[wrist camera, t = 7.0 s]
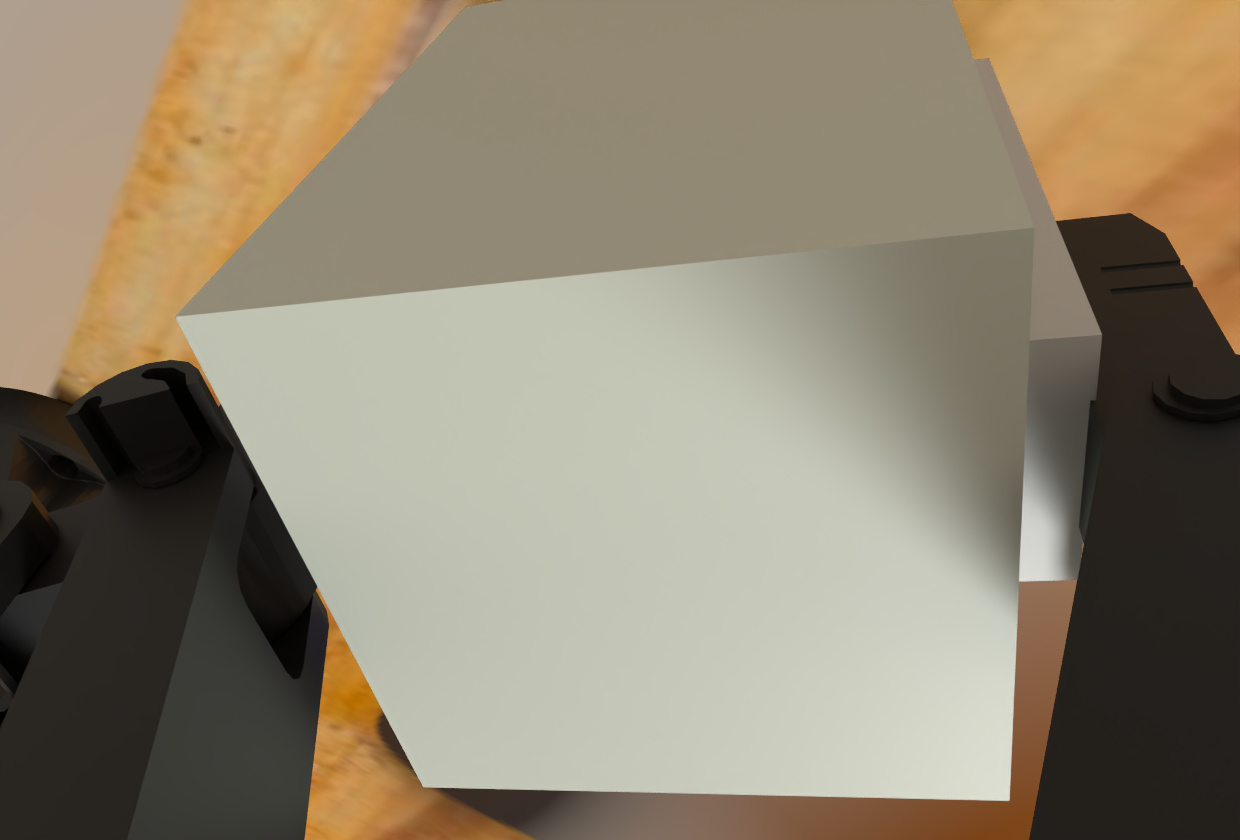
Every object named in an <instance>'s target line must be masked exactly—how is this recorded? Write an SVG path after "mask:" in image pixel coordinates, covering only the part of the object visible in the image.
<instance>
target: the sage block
mask: <svg viewBox="0 0 1240 840" xmlns="http://www.w3.org/2000/svg"><path fill="white" fill-rule="evenodd" d="M1033 250H1034V225H1033V222H1032V219H1031V217H1030V214H1029V211H1028V208H1027V206H1026V203H1025V200H1024V197H1023V195H1022V192H1021V189H1020V186H1019V184H1018V181H1017V178H1016V175H1015V173H1014V170H1013V167H1012V164H1011V162H1010V159H1009V156H1008V153H1007V151H1006V148H1005V145H1004V142H1003V140H1002V137H1001V134H1000V131H999V129H998V126H997V123H996V120H995V118H994V115H993V112H992V109H991V107H990V104H989V101H988V98H987V96H986V93H985V90H984V87H983V84H982V82H981V79H980V76H979V73H978V71H977V68H976V65H975V62H974V60H973V57H972V54H971V51H970V49H969V46H968V43H967V40H966V38H965V35H964V32H963V29H962V27H961V24H960V21H959V18H958V16H957V13H956V10H955V7H954V5H953V2H952V0H502V1H496V2H490V3H484V4H479V5H473V6H467V7H465V8H464V9H463V10H462V11H461V12H460V14H459V15H458V16H457V17H456V18H455V19H454V20H453V21H452V22H451V23H450V24H449V25H448V26H447V27H446V28H445V30H444V31H443V32H442V33H441V34H440V35H439V36H438V37H437V38H436V39H435V40H434V41H433V42H432V43H431V44H430V46H429V47H428V48H427V49H426V50H425V51H424V52H423V53H422V54H421V55H420V56H419V57H418V58H417V59H416V60H415V62H414V63H413V64H412V65H411V66H410V67H409V68H408V69H407V70H406V71H405V72H404V73H403V74H402V75H401V76H400V78H399V79H398V80H397V81H396V82H395V83H394V84H393V85H392V86H391V87H390V88H389V89H388V90H387V91H386V92H385V94H384V95H383V96H382V97H381V98H380V99H379V100H378V101H377V102H376V103H375V104H374V105H373V106H372V107H371V108H370V109H369V111H368V112H367V113H366V114H365V115H364V116H363V117H362V118H361V119H360V120H359V121H358V122H357V123H356V124H355V125H354V127H353V128H352V129H351V130H350V131H349V132H348V133H347V134H346V135H345V136H344V137H343V138H342V139H341V140H340V141H339V143H338V144H337V145H336V146H335V147H334V148H333V149H332V150H331V151H330V152H329V153H328V154H327V155H326V156H325V157H324V159H323V160H322V161H321V162H320V163H319V164H318V165H317V166H316V167H315V168H314V169H313V170H312V171H311V172H310V173H309V175H308V176H307V177H306V178H305V179H304V180H303V181H302V182H301V183H300V184H299V185H298V186H297V187H296V188H295V189H294V191H293V192H292V193H291V194H290V195H289V196H288V197H287V198H286V199H285V200H284V201H283V202H282V203H281V204H280V205H279V207H278V208H277V209H276V210H275V211H274V212H273V213H272V214H271V215H270V216H269V217H268V218H267V219H266V220H265V221H264V222H263V224H262V225H261V226H260V227H259V228H258V229H257V230H256V231H255V232H254V233H253V234H252V235H251V236H250V237H249V238H248V240H247V241H246V242H245V243H244V244H243V245H242V246H241V247H240V248H239V249H238V250H237V251H236V252H235V253H234V254H233V256H232V257H231V258H230V259H229V260H228V261H227V262H226V263H225V264H224V265H223V266H222V267H221V268H220V269H219V270H218V272H217V273H216V274H215V275H214V276H213V277H212V278H211V279H210V280H209V281H208V282H207V283H206V284H205V285H204V286H203V288H202V289H201V290H200V291H199V292H198V293H197V294H196V295H195V296H194V297H193V298H192V299H191V300H190V301H189V302H188V304H187V305H186V306H185V307H184V308H183V309H182V310H181V311H180V312H179V313H178V314H177V315H176V316H175V318H176V320H177V322H178V324H179V325H180V327H181V329H182V331H183V333H184V335H185V337H186V339H187V341H188V342H189V344H190V346H191V348H192V350H193V352H194V354H195V356H196V358H197V360H198V361H199V363H200V365H201V367H202V369H203V371H204V373H205V375H206V377H207V378H208V380H209V382H210V384H211V386H212V388H213V390H214V392H215V394H216V395H217V397H218V399H219V401H220V403H221V405H222V407H223V409H224V411H225V413H226V414H227V416H228V418H229V420H230V422H231V424H232V426H233V428H234V430H235V431H236V433H237V435H238V437H239V439H240V441H241V443H242V445H243V447H244V448H245V450H246V452H247V454H248V456H249V458H250V460H251V462H252V464H253V466H254V467H255V469H256V471H257V473H258V475H259V477H260V479H261V481H262V483H263V484H264V486H265V488H266V490H267V492H268V494H269V496H270V498H271V500H272V502H273V503H274V505H275V507H276V509H277V511H278V513H279V515H280V517H281V519H282V520H283V522H284V524H285V526H286V528H287V530H288V532H289V534H290V536H291V537H292V539H293V541H294V543H295V545H296V547H297V549H298V551H299V553H300V555H301V556H302V558H303V560H304V562H305V564H306V566H307V568H308V570H309V572H310V573H311V575H312V577H313V579H314V581H315V583H316V585H317V587H318V589H319V590H320V592H321V594H322V596H323V598H324V600H325V602H326V604H327V606H328V608H329V609H330V611H331V613H332V615H333V617H334V619H335V621H336V623H337V625H338V626H339V628H340V630H341V632H342V634H343V636H344V638H345V640H346V642H347V644H348V645H349V647H350V649H351V651H352V653H353V655H354V657H355V659H356V661H357V662H358V664H359V666H360V668H361V670H362V672H363V674H364V676H365V678H366V679H367V681H368V683H369V685H370V687H371V689H372V691H373V693H374V695H375V697H376V698H377V700H378V702H379V704H380V706H381V708H382V710H383V712H384V714H385V715H386V717H387V719H388V721H389V723H390V725H391V727H392V728H393V731H394V732H395V734H396V736H397V738H398V740H399V742H400V744H401V746H402V748H403V750H404V751H405V753H406V755H407V757H408V759H409V761H410V763H411V765H412V767H413V768H414V770H415V772H416V774H417V776H418V778H419V780H420V782H421V784H422V786H423V787H438V788H440V787H442V788H481V789H482V788H483V789H484V788H485V789H525V790H568V791H611V792H614V791H615V792H655V793H656V792H657V793H698V794H742V795H783V796H786V795H787V796H826V797H829V796H831V797H871V798H913V799H958V800H999V801H1003V800H1004V801H1009V798H1010V775H1011V774H1010V773H1011V751H1012V730H1013V727H1012V726H1013V707H1014V705H1013V704H1014V684H1015V661H1016V660H1015V659H1016V638H1017V615H1018V593H1019V570H1020V547H1021V524H1022V501H1023V478H1024V455H1025V433H1026V410H1027V387H1028V364H1029V341H1030V318H1031V295H1032V273H1033Z"/></svg>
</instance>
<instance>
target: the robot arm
mask: <svg viewBox="0 0 1240 840" xmlns="http://www.w3.org/2000/svg"><path fill="white" fill-rule="evenodd" d="M974 62H975V65H976V68H977V71H978V73H979V76H980V79H981V82H982V84H983V87H984V90H985V93H986V96H987V98H988V101H989V104H990V107H991V109H992V112H993V115H994V118H995V120H996V123H997V126H998V129H999V131H1000V134H1001V137H1002V140H1003V142H1004V145H1005V148H1006V151H1007V153H1008V156H1009V159H1010V162H1011V164H1012V167H1013V170H1014V173H1015V175H1016V178H1017V181H1018V184H1019V186H1020V189H1021V192H1022V195H1023V197H1024V200H1025V203H1026V206H1027V208H1028V211H1029V214H1030V217H1031V219H1032V222H1033V225H1034V250H1033V273H1032V295H1031V318H1030V341H1029V364H1028V387H1027V410H1026V433H1025V455H1024V478H1023V501H1022V524H1021V547H1020V570H1019V581H1048V580H1049V581H1050V580H1077V585H1076V590H1075V595H1074V602H1073V607H1072V613H1071V617H1070V623H1069V628H1068V633H1067V639H1066V644H1065V650H1064V655H1063V661H1062V666H1061V671H1060V676H1059V682H1058V688H1057V693H1056V698H1055V703H1054V709H1053V714H1052V720H1051V725H1050V730H1049V736H1048V741H1047V747H1046V752H1045V757H1044V763H1043V768H1042V774H1041V779H1040V784H1039V790H1038V795H1037V801H1036V806H1035V811H1034V817H1033V822H1032V828H1031V833H1030V838H1029V840H1240V355H1237V354H1235V353H1234V351H1233V349H1232V348H1231V346H1230V344H1229V342H1228V341H1227V339H1226V337H1225V336H1224V334H1223V332H1222V330H1221V329H1220V327H1219V325H1218V324H1217V322H1216V320H1215V318H1214V317H1213V315H1212V313H1211V312H1210V310H1209V308H1208V306H1207V305H1206V303H1205V301H1204V300H1203V298H1202V296H1201V294H1200V293H1199V291H1198V289H1197V288H1196V287H1193V281H1192V279H1191V277H1190V276H1189V274H1188V272H1187V270H1186V269H1185V267H1184V265H1180V258H1179V257H1178V255H1177V253H1176V252H1175V250H1174V248H1173V246H1172V245H1171V243H1170V241H1169V240H1168V238H1167V236H1166V234H1165V233H1163V232H1161V231H1160V230H1158V229H1156V228H1155V227H1153V226H1151V225H1150V224H1148V223H1146V222H1145V221H1143V220H1141V219H1139V218H1138V217H1136V216H1134V215H1133V214H1131V213H1128V214H1119V215H1109V216H1100V217H1090V218H1081V219H1071V220H1062V221H1055V218H1054V216H1053V214H1052V211H1051V209H1050V206H1049V204H1048V201H1047V199H1046V196H1045V194H1044V192H1043V189H1042V187H1041V184H1040V182H1039V179H1038V177H1037V175H1036V172H1035V170H1034V167H1033V165H1032V162H1031V160H1030V157H1029V155H1028V153H1027V150H1026V148H1025V145H1024V143H1023V140H1022V138H1021V135H1020V133H1019V131H1018V128H1017V126H1016V123H1015V121H1014V118H1013V116H1012V114H1011V111H1010V109H1009V106H1008V104H1007V101H1006V99H1005V96H1004V94H1003V92H1002V89H1001V87H1000V84H999V82H998V79H997V77H996V74H995V72H994V70H993V67H992V65H991V62H990V60H989V58H985V59H978V60H974ZM1083 542H1084V548H1083V552H1082V544H1083ZM1081 554H1082V558H1081ZM316 588H317V585H316V583H315V581H314V579H313V577H312V575H311V573H310V572H309V570H308V568H307V566H306V564H305V562H304V560H303V558H302V556H301V555H300V553H299V551H298V549H297V547H296V545H295V543H294V541H293V539H292V537H291V536H290V534H289V532H288V530H287V528H286V526H285V524H284V522H283V520H282V519H281V517H280V515H279V513H278V511H277V509H276V507H275V505H274V503H273V502H272V500H271V498H270V496H269V494H268V492H267V490H266V488H265V486H264V484H263V483H262V481H261V479H260V477H259V475H258V473H257V471H256V469H255V467H254V466H253V464H252V462H251V460H250V458H249V456H248V454H247V452H246V450H245V448H244V447H243V445H242V443H241V441H240V439H239V437H238V435H237V433H236V431H235V430H234V428H233V426H232V424H231V422H230V420H229V418H228V416H227V414H226V413H225V411H224V409H223V407H222V405H220V406H219V407H218V406H217V404H216V402H215V400H214V398H213V396H212V394H211V392H210V390H209V389H208V387H207V385H206V383H205V381H204V379H203V377H202V375H201V374H200V372H199V370H198V369H197V368H196V367H194V366H193V365H192V364H190V363H189V362H183V361H175V360H168V361H161V362H155V363H149V364H145V365H142V366H139V367H136V368H133V369H130V370H127V371H125V372H122V373H120V374H118V375H116V376H114V377H112V378H110V379H108V380H106V381H104V382H103V383H101V384H99V385H97V386H96V387H94V388H93V389H92V390H90V391H89V392H88V393H86V394H85V395H84V396H82V397H81V398H80V399H78V400H77V401H76V403H75V404H74V405H73V406H71V405H69V404H66V403H64V402H61V401H58V400H55V399H53V398H50V397H47V396H43V395H40V394H36V393H32V392H27V391H23V390H18V389H11V388H3V387H0V840H304V838H305V830H306V821H307V812H308V803H309V795H310V786H311V777H312V769H313V760H314V751H315V743H316V734H317V725H318V717H319V708H320V699H321V690H322V682H323V673H324V664H325V656H326V647H327V638H328V630H329V622H328V616H327V611H326V609H325V607H324V605H323V603H322V601H321V599H320V597H319V596H318V594H317V592H316Z"/></svg>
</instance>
